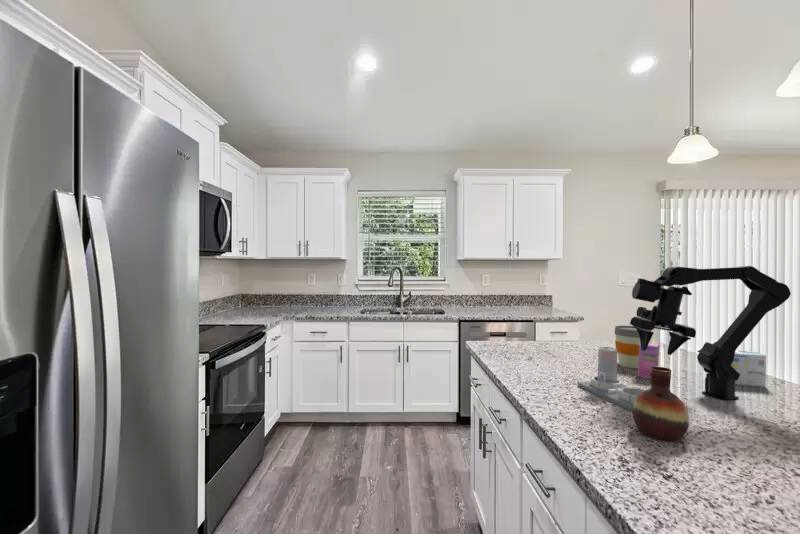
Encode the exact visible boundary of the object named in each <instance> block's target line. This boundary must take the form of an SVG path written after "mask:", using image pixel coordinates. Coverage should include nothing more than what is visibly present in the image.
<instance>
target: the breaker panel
mask: <svg viewBox="0 0 800 534" xmlns="http://www.w3.org/2000/svg"><path fill="white" fill-rule="evenodd" d="M577 386H578V387H579V388H582V389H584V390H586V391H588V392H590V393H592V394H594V395H596V396H598V397H600V398H603V399H605V400H607V401H608V402H611V403H613V404H615V405H617V406H619V407H621V408H624V409H626V410H628V411H630V412H632V407H633V403H634V400H635V398H636V397H637V396H638V395H639V394H640V393H641V392H643V391H645V390H646V389H643V388H636V387H629V386H627V385H624V384H623V381H622V380H621V379H619V378H617V383H605V382H600V381H598V375H592V376H591V378H590V381H578V383H577Z"/></svg>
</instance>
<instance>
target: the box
mask: <svg viewBox="0 0 800 534" xmlns="http://www.w3.org/2000/svg"><path fill="white" fill-rule="evenodd" d="M659 359H660V342H659V341H653V340H650V342H649V344H648V346H647V348H646V350H645V351H643V350H641V343H640V344H639V365H638V368H637V369H638V371H637V372H638V373H637V374H638V375H637V376H638V378H643V379H649V380H651V372H650V367H653V366H657V367H660V363H659V362H660V360H659Z"/></svg>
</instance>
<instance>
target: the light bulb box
mask: <svg viewBox="0 0 800 534" xmlns="http://www.w3.org/2000/svg"><path fill="white" fill-rule="evenodd" d="M731 366H732V367H733V368H734V369H735V370H736V371H737V372H738V373H739V374H740V376H739V378H738V380H737V381H735V385H736V384H737V385H738V386H739V385H740V386H749V387H750V386H751V387H764V388H766V386H767V385H766V383H767V381H766V380H767V355H766V354H763V353H760V352H757V351H754V350H753V351H751V350H750V351H748V350H736V351H735V356H734V361H733V363H732V365H731Z"/></svg>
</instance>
